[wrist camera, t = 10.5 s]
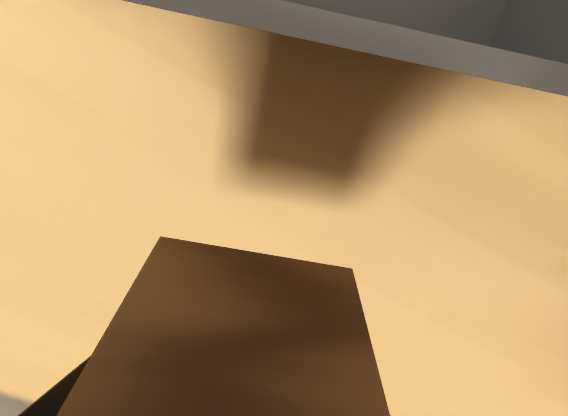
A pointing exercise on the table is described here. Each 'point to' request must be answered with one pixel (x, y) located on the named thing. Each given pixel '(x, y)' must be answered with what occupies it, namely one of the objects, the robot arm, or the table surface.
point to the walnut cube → (232, 340)
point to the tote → (418, 32)
